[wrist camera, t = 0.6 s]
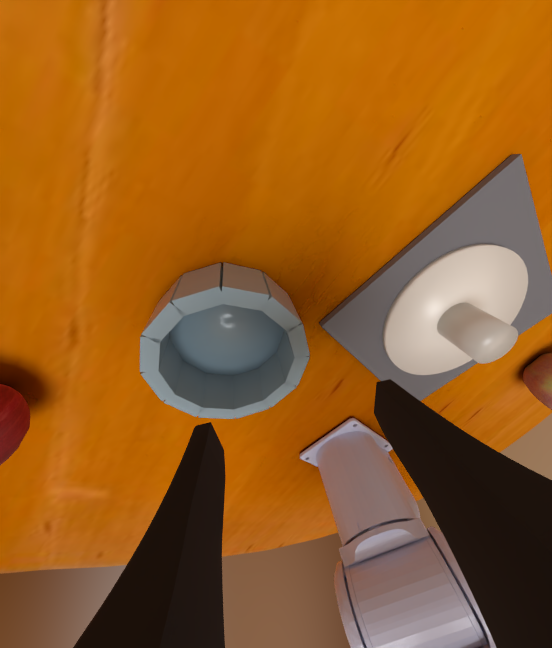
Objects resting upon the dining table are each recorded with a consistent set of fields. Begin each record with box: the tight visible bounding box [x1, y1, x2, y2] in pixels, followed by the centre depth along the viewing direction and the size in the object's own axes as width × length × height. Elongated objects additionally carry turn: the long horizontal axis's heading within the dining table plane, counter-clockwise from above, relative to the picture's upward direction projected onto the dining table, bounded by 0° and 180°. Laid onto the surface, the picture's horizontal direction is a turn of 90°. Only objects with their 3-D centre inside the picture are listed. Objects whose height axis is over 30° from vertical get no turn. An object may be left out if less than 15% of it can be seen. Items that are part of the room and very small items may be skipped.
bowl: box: [140, 262, 310, 419], centre depth 17 cm, size 10×10×4 cm
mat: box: [319, 154, 552, 401], centre depth 21 cm, size 16×16×1 cm
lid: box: [382, 244, 528, 375], centre depth 19 cm, size 12×12×4 cm
